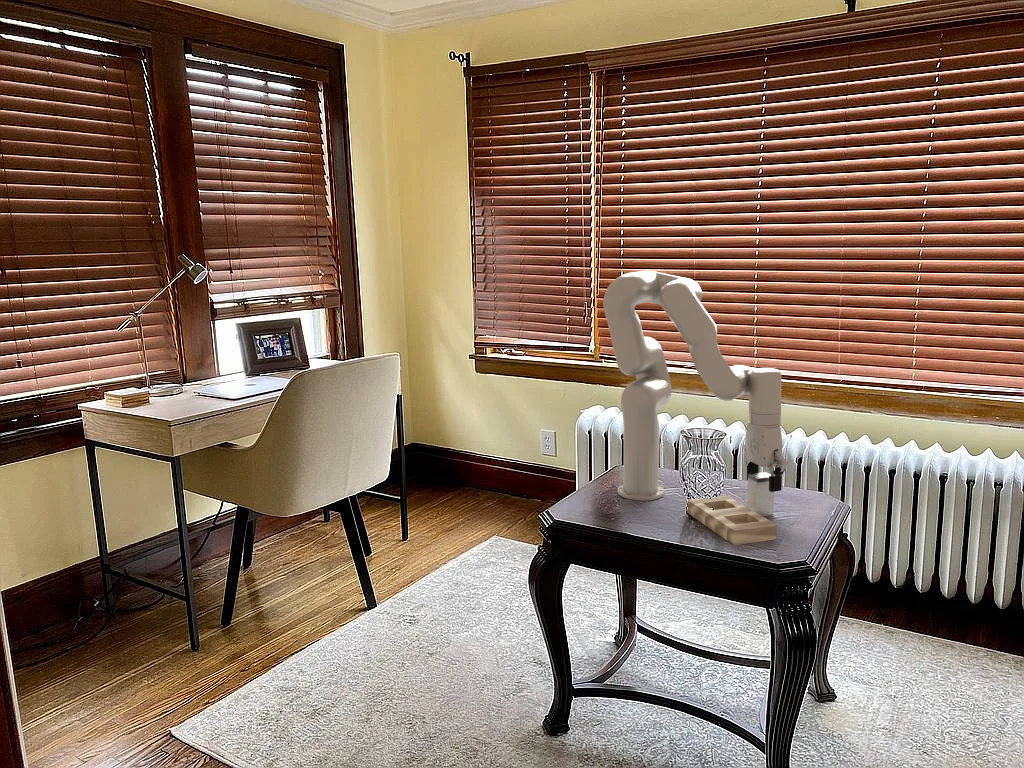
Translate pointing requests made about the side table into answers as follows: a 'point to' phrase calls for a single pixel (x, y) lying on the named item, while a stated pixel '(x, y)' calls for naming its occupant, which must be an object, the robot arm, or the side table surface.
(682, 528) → the side table surface
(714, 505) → the tan cinder block
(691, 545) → the side table surface
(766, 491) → the white rectangular block
